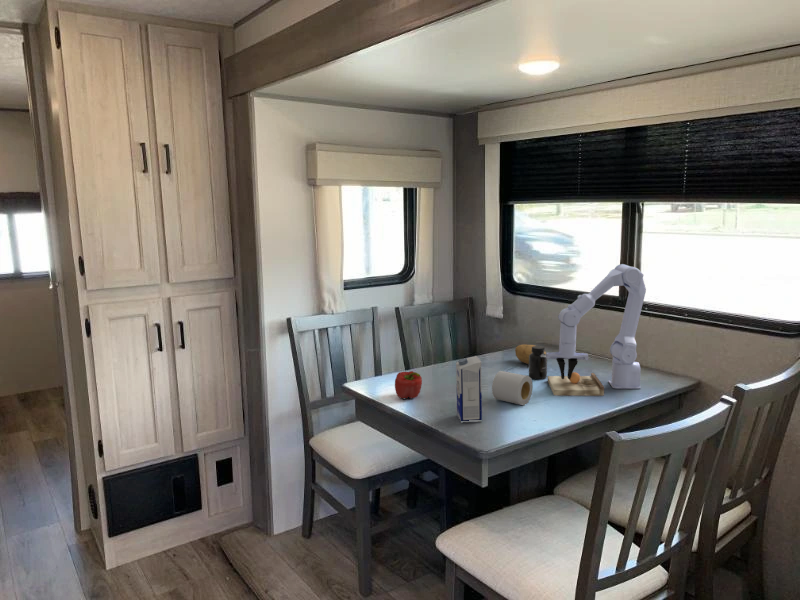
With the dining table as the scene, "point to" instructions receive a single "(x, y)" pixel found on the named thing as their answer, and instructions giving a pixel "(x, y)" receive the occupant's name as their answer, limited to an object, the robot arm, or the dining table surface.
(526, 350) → the potato
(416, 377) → the vegetable
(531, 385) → the toilet paper
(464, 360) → the milk carton
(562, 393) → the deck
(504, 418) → the dining table surface
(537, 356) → the supplement bottle
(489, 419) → the dining table surface
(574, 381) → the ball
